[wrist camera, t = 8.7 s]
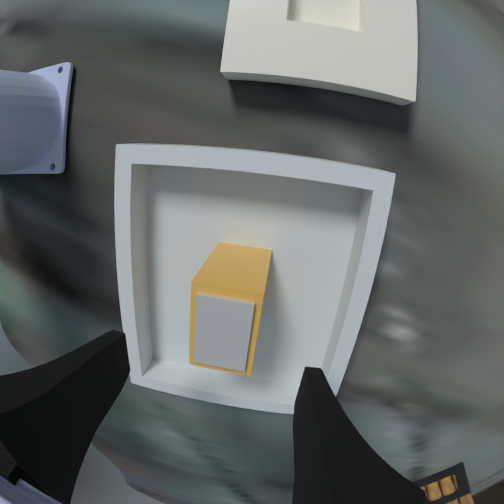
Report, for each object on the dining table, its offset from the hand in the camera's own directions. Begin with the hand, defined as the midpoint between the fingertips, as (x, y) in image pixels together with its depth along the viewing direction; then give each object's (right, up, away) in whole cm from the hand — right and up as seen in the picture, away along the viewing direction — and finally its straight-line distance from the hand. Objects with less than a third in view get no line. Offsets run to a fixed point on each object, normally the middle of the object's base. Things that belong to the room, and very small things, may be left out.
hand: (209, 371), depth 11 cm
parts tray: (+1, +3, +8) cm, 9 cm away
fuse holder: (+6, +19, +2) cm, 20 cm away
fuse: (+1, +3, +7) cm, 8 cm away
